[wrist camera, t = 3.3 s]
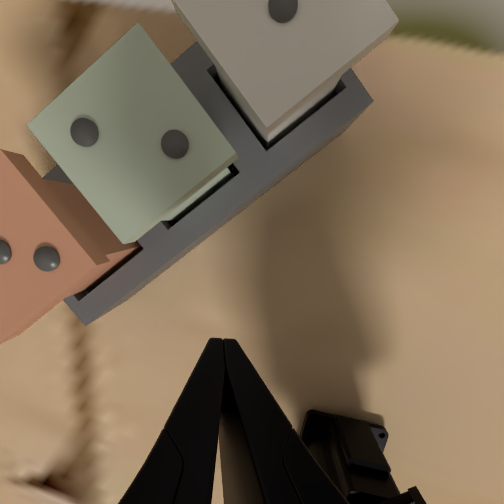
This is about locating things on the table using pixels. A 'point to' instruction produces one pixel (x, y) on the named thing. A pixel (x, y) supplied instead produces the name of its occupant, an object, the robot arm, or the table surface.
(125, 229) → the key two dots
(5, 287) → the key three dots
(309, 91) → the key one dot
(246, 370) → the robot arm
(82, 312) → the key console
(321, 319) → the table surface
